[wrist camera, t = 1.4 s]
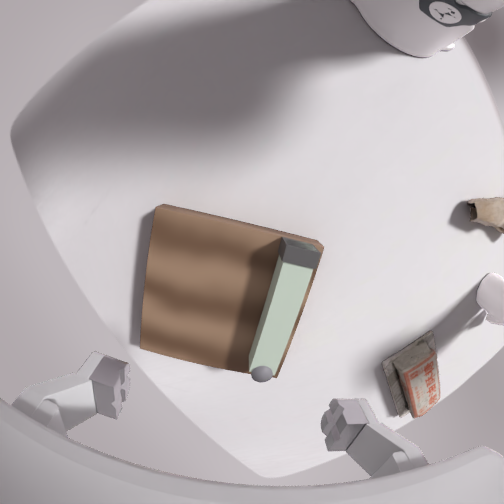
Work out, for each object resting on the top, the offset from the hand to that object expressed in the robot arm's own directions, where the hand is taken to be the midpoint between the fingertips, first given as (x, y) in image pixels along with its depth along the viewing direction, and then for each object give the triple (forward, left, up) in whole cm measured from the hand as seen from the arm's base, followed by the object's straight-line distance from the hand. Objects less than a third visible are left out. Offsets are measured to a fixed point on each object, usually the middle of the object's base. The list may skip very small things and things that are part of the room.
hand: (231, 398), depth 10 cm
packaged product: (+16, +35, -24) cm, 45 cm away
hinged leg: (+5, +6, -20) cm, 21 cm away
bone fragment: (-14, +36, -24) cm, 45 cm away
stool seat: (+6, 0, -23) cm, 24 cm away
